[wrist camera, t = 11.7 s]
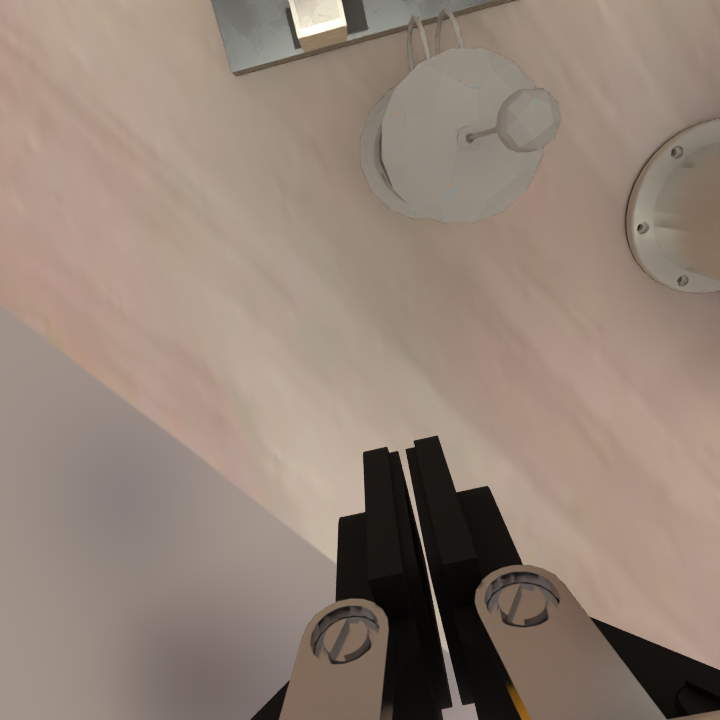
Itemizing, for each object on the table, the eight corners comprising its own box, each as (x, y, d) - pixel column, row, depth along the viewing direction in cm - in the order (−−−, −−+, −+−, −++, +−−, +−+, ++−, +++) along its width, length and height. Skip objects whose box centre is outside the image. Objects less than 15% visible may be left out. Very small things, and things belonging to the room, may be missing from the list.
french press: (373, 232, 41) (403, 311, 18) (340, 65, 38) (322, -116, 14) (501, 204, 41) (706, 248, 17) (480, 32, 37) (706, -214, 13)
